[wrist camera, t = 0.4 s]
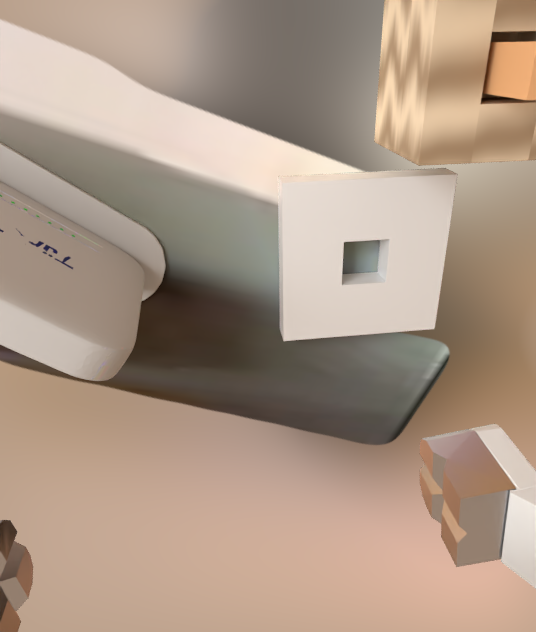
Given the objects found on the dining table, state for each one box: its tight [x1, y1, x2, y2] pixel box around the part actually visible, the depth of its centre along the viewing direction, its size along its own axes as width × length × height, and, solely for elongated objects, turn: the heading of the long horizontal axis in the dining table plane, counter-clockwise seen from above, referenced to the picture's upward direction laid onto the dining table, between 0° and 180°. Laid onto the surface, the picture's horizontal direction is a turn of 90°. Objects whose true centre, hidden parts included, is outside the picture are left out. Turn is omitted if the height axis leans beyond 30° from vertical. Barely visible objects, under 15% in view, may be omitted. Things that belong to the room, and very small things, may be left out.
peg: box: [482, 41, 536, 100], centre depth 39 cm, size 4×4×10 cm
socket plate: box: [278, 168, 457, 341], centre depth 57 cm, size 18×18×3 cm
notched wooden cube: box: [374, 0, 536, 166], centre depth 45 cm, size 14×14×12 cm
